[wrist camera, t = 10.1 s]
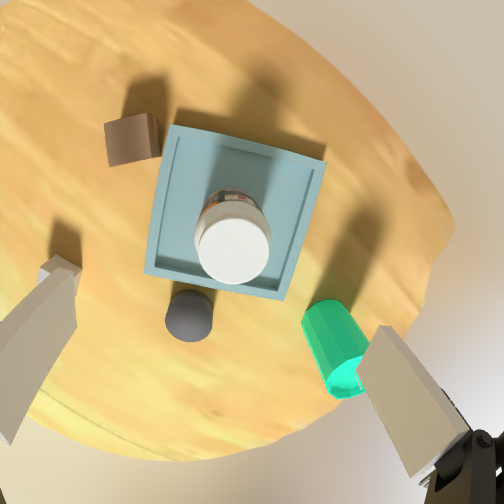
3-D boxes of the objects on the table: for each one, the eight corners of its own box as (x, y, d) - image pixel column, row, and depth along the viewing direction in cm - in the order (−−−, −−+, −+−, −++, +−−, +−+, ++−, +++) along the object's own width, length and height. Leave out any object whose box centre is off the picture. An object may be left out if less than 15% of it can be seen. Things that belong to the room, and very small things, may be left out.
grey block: (51, 280, 29) (35, 295, 25) (56, 253, 28) (39, 267, 24) (76, 295, 30) (62, 311, 26) (82, 268, 29) (67, 284, 25)
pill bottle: (204, 183, 26) (193, 203, 17) (264, 191, 27) (285, 215, 18) (198, 240, 28) (186, 286, 19) (255, 247, 29) (269, 295, 20)
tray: (147, 267, 29) (144, 273, 28) (173, 125, 25) (170, 124, 23) (281, 294, 32) (283, 301, 30) (321, 161, 27) (326, 162, 26)
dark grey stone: (167, 322, 32) (163, 337, 29) (172, 285, 31) (167, 298, 28) (208, 329, 33) (207, 345, 30) (216, 294, 31) (216, 308, 29)
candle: (328, 344, 35) (361, 412, 24) (291, 330, 34) (317, 404, 23) (356, 309, 34) (401, 371, 23) (319, 291, 32) (360, 358, 21)
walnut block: (124, 164, 25) (109, 167, 22) (119, 125, 24) (103, 123, 20) (161, 156, 26) (151, 157, 22) (157, 117, 24) (146, 112, 20)
